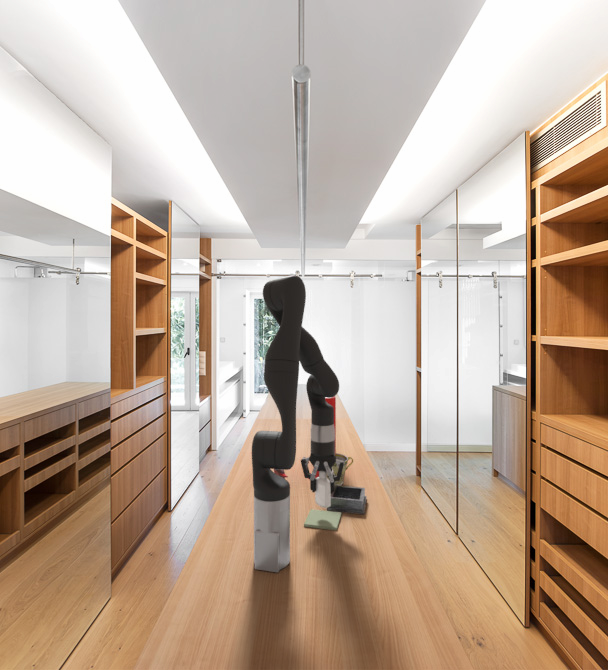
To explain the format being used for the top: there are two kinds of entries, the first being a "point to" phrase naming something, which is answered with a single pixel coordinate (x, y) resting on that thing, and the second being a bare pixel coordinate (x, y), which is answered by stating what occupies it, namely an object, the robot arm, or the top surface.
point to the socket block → (348, 499)
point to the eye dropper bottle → (323, 490)
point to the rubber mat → (323, 519)
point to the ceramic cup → (335, 468)
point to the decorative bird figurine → (280, 473)
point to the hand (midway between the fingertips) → (322, 492)
